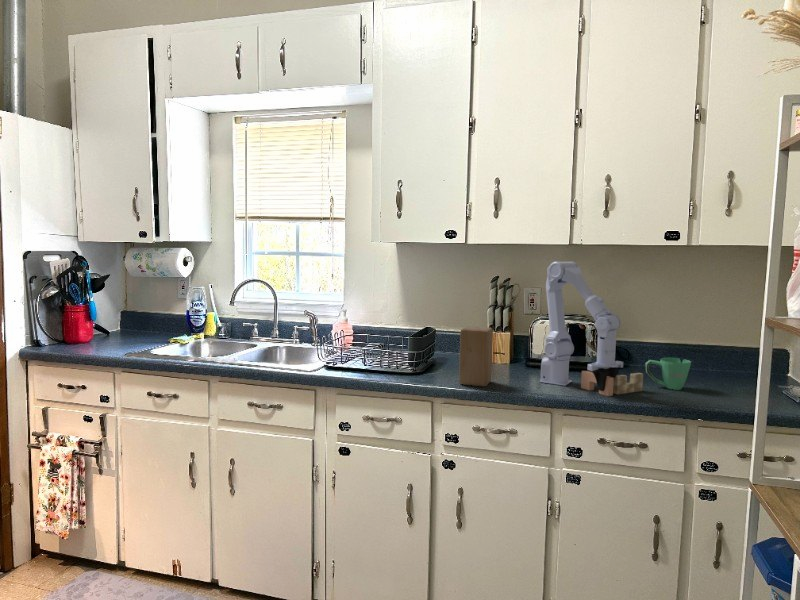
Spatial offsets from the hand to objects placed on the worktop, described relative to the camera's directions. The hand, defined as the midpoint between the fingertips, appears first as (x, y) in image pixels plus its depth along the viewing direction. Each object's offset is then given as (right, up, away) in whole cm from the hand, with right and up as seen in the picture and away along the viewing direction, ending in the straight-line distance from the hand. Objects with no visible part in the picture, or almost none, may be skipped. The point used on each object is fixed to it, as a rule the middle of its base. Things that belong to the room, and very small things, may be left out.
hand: (604, 389), depth 190 cm
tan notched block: (+9, -1, +3) cm, 10 cm away
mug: (+26, -1, +10) cm, 28 cm away
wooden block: (-42, 0, +13) cm, 44 cm away
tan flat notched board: (-2, -1, +3) cm, 4 cm away
